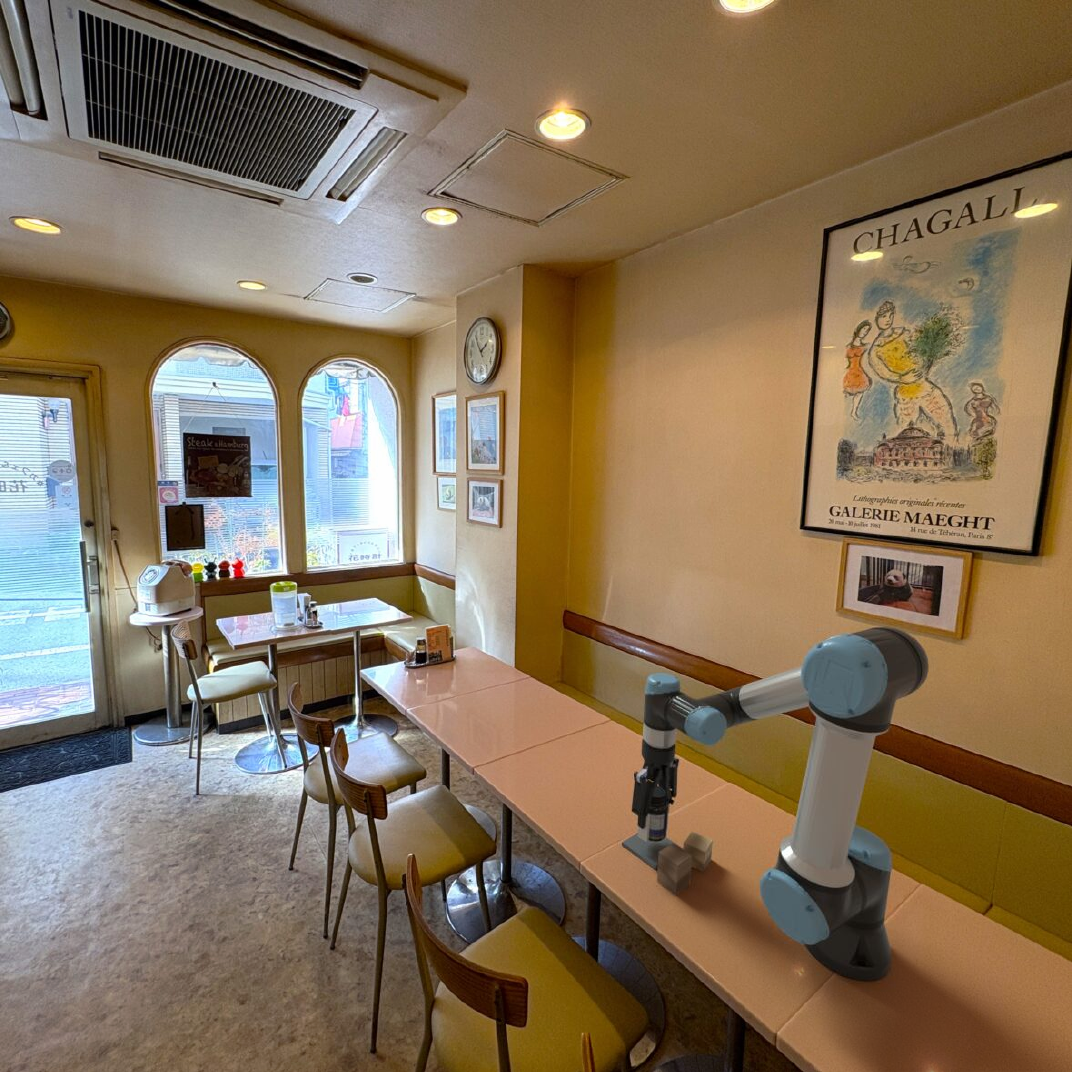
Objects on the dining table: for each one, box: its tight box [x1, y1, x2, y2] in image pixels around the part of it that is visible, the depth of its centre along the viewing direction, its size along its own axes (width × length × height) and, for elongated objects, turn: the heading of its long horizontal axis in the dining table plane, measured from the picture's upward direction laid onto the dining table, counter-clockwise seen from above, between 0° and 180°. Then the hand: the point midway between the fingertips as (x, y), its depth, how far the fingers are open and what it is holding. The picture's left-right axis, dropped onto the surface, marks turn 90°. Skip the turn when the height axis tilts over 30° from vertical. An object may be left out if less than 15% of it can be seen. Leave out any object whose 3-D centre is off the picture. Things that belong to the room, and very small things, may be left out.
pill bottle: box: [648, 785, 669, 842], centre depth 133 cm, size 6×6×11 cm
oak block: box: [682, 831, 714, 872], centre depth 130 cm, size 5×5×5 cm
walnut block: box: [656, 842, 692, 896], centre depth 123 cm, size 5×5×7 cm
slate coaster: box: [621, 832, 683, 870], centre depth 134 cm, size 10×10×1 cm
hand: (652, 832), depth 133 cm, fingers closed on pill bottle, 6 cm apart
